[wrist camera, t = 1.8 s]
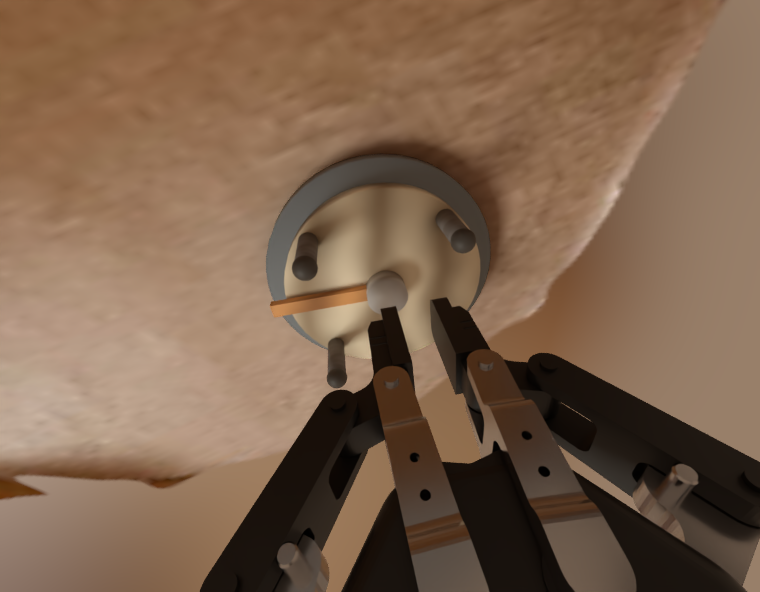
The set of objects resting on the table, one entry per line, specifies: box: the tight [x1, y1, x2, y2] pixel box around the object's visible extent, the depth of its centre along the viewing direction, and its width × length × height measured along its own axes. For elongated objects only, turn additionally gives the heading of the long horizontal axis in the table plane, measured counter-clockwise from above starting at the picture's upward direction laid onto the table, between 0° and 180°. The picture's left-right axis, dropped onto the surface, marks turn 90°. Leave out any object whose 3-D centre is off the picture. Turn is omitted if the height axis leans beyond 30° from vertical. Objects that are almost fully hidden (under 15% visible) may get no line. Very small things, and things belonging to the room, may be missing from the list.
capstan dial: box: [270, 182, 480, 388], centre depth 32 cm, size 22×20×8 cm
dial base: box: [266, 154, 490, 350], centre depth 37 cm, size 24×24×2 cm
